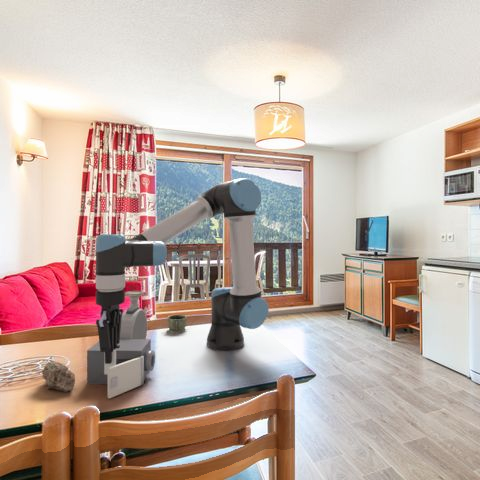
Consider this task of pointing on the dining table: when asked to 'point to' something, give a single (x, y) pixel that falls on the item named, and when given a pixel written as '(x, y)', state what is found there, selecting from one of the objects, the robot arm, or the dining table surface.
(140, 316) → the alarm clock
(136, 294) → the candle holder
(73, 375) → the rock
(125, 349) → the camera body
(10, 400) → the dining table surface
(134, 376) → the door
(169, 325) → the vessel
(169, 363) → the dining table surface
